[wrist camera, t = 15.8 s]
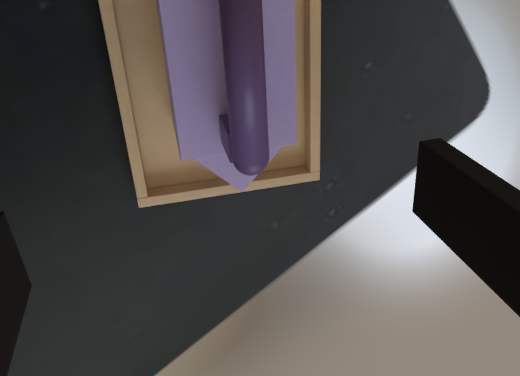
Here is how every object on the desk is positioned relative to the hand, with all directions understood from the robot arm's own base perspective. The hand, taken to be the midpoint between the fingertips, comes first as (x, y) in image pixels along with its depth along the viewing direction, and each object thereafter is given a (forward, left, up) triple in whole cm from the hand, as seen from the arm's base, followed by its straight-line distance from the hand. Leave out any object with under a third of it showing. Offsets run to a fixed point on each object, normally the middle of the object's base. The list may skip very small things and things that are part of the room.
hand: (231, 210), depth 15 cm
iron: (-1, +2, -16) cm, 17 cm away
